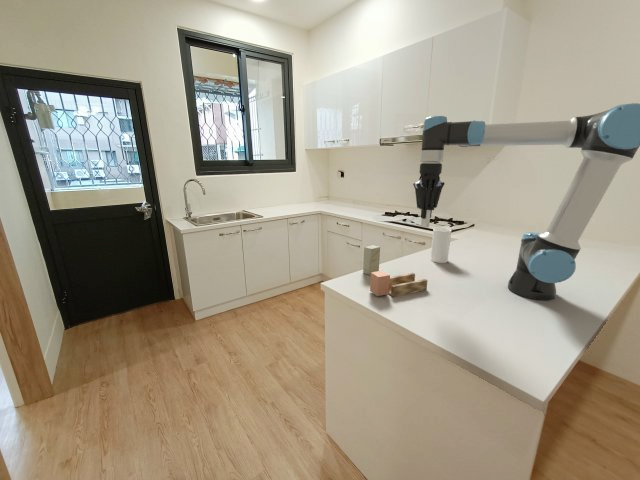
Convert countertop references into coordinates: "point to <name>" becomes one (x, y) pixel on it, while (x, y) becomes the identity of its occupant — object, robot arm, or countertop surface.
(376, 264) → the skincare box
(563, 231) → the robot arm
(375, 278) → the block
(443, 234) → the cup
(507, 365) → the countertop surface
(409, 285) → the chute
